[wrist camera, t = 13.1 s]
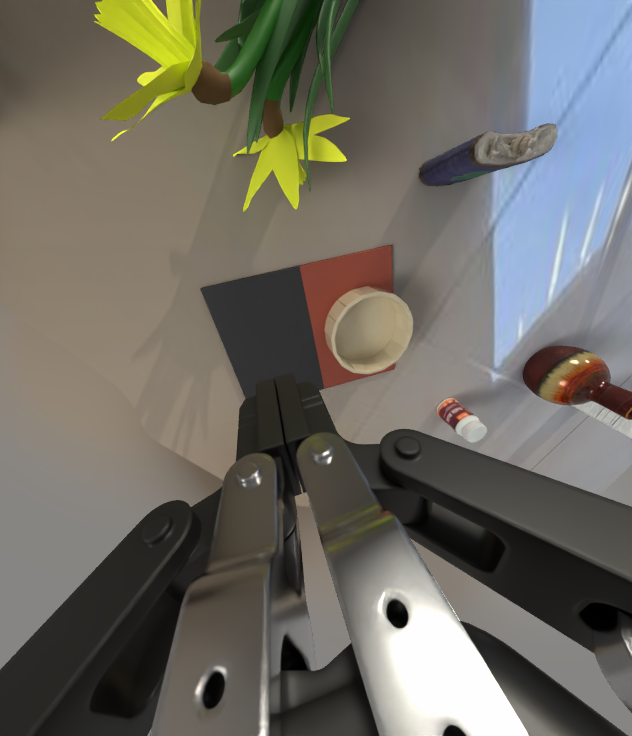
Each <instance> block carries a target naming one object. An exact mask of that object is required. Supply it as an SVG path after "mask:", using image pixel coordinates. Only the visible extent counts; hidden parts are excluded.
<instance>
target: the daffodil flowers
mask: <svg viewBox="0 0 632 736" xmlns="http://www.w3.org/2000/svg"><path fill="white" fill-rule="evenodd" d="M359 1H360V0H347V2H346V4H345V6H344V9H343V11H342V13H341V15H340V17H339V20H338V22H337V24H336V26H335V28H334V30H333V26H334V22H335V18H336V15H337V11H338V8H339V5H340V2H341V0H241V5H240V12H239V19H238V24H237V25H235V26H234V27H232V28H230V29H229V30H227V31H225V32H224V33H223V34H222V35H220V36H219V37H218V38H217V39H216V40H215V42H222V41H228V40H230V41H229V43H228V45H227V46H226V48H225V50H224V51H223V53H222V55H221V57H220V58H219V60H218V62H217V64H216V65H215V67H214V66H212V65H211V64H210V63H208V62H206V61H202V54H201V36H200V9H201V0H196V5H195V13H196V20H195V18H194V14H193V2H192V0H166V6H167V15H168V20H167V18H166V17H165V16H164V15H163V14H162V12H161V11H160V10H159V9H158V8H157V6H156V5H155V4H154V3H153V1H152V0H102V1H100V2H95V4H96V5H97V6H96V7H97V8H98V10H99V11H100V13H101V14H94V15H95V17H96V18H97V19H98V20H99V21H100V22H96V21H94V22H95V23H97V24H99V25H101V26H102V27H104V28H106V29H108V30H109V31H111V32H113V33H115V34H116V35H118V36H120V37H121V38H123V39H125V40H126V41H128V42H129V43H131V44H132V45H134V46H135V47H137V48H138V49H140V50H141V51H143V52H144V53H146V54H147V55H149V56H150V57H151V58H153V59H154V60H156V61H157V62H158V63H159V64H161V65H162V67H161V68H159V69H158V70H157V71H156V72H145V73H143V74H142V75H140V76H139V78H138V79H137V81H138V83H140V84H141V85H143V86H144V87H143V88H141V89H140V90H138V91H137V92H135V93H134V94H132V95H131V96H129V97H128V98H126V99H125V100H123V101H122V102H121V103H119V104H118V105H116V106H115V107H114V108H113V109H111V110H110V111H109V112H108V113H107V114H106V115H104V116H103V117H102V118H101V119H100V120H119V121H126V120H128V119H130V118H132V117H134V116H136V115H137V114H138V113H139V112H140V111H141V110H142V109H143V108H144V107H145V106H146V105H147V104H148V103H149V102H150V101H151V100H152V99H154V98H155V97H156V96H158V97H157V98H156V100H155V101H154V102H153V104H152V105H151V107H150V108H149V110H148V111H147V113H146V114H145V115H144V116H143V117H142V119H143V118H145V117H146V116H147V115H148V114H149V113H151V112H152V111H153V110H154V109H156V108H157V107H158V106H160V105H162V104H164V103H166V102H167V101H169V100H171V99H173V98H175V97H177V96H180V95H182V94H185V93H188V92H190V91H192V93H193V94H194V96H195V97H196V99H197V100H198V101H200V102H201V103H206V104H212V105H216V104H220V103H224V102H227V101H230V99H231V98H233V97H234V96H236V95H237V94H238V93H240V92H241V91H242V89H243V88H244V86H245V85H246V84H247V82H248V81H249V79H250V78H251V76H252V74H253V72H254V70H255V68H256V72H255V78H254V85H253V91H252V97H251V104H250V110H249V122H248V134H247V146H246V147H245V148H243V149H242V150H240V151H239V152H237V153H235V154H234V155H233V156H236V154H249V153H256V152H258V151H260V150H262V151H261V154H260V157H259V160H258V162H257V165H256V168H255V171H254V173H253V176H252V179H251V182H250V186H249V189H248V193H247V197H246V200H245V204H244V208H243V212H244V211H245V210H246V209H247V208H248V206H249V204H250V201H251V198H252V197H253V196H254V194H255V193H256V192H257V190H258V189H259V187H260V186H261V185H262V183H263V182H264V181H265V179H266V178H267V176H268V175H269V174H270V172H271V171H272V169H273V171H274V173H275V175H276V177H277V180H278V182H279V184H280V186H281V188H282V190H283V191H284V193H285V195H286V197H287V198H288V200H289V201H290V203H291V204H292V206H293V207H294V208H295V209H297V208H298V203H299V189H298V188H299V184H301V185H303V181H306V179H305V177H307V178H308V184H309V189H310V175H309V166H308V160H314V161H325V162H344V161H347V160H346V157H345V156H344V155H343V154H342V152H341V151H340V150H339V149H338V148H337V147H336V146H335V145H334V144H333V143H331V142H330V141H329V140H327V139H326V138H323V137H320V136H316V135H315V134H317V133H320V132H322V131H324V130H327V129H329V128H332V127H334V126H337V125H339V124H341V123H343V122H345V121H347V120H349V119H350V118H346V117H340V116H336V115H333V95H332V83H331V65H330V63H331V61H332V59H333V57H334V55H335V53H336V51H337V48H338V46H339V44H340V42H341V40H342V38H343V35H344V33H345V31H346V29H347V27H348V25H349V22H350V20H351V18H352V16H353V14H354V11H355V9H356V7H357V5H358V3H359ZM196 21H197V23H196ZM316 23H317V32H316V44H317V52H318V59H319V63H318V65H317V68H316V71H315V73H314V76H313V79H312V83H311V86H310V90H309V94H308V99H307V103H306V110H305V119H304V122H301V123H296V124H286V125H283V118H282V114H281V110H280V100H281V97H282V93H283V90H284V87H285V84H286V82H287V79H288V78H289V76H290V74H291V78H290V112H291V111H292V108H293V104H294V100H295V96H296V91H297V87H298V83H299V78H300V74H301V69H302V65H303V61H304V58H305V54H306V51H307V47H308V43H309V40H310V37H311V34H312V31H313V29H314V27H315V25H316ZM332 31H333V32H332ZM324 36H325V43H324V51H323V53H322V46H323V40H324ZM324 76H325V80H326V88H327V92H328V97H329V101H330V106H331V110H332V114H329V115H321V116H317V117H314V118H312V119H311V117H312V112H313V108H314V104H315V100H316V97H317V94H318V91H319V88H320V86H321V83H322V81H323V78H324ZM142 119H141V120H142ZM262 119H263V125H264V131H265V133H266V135H265V136H264V137H262V138H260V139H258V138H259V134H260V129H261V124H262ZM141 120H140V121H141ZM140 121H139V122H140ZM139 122H138V123H139ZM136 124H137V123H136ZM136 124H135V125H136ZM135 125H133V126H132V127H131V128H133V127H134V126H135ZM131 128H129V129H128V130H130V129H131ZM128 130H125V131H122V132H120V133H119V134H118V135H116V136H115V137H114V138H113V139H112V141H113V140H114V139H115V138H117V137H118V136H119V135H121V134H122V133H124V132H126V131H128ZM255 133H256V141H254V142H253V140H254V137H255ZM112 141H111V142H112ZM298 159H304V160H305V167H306V173H307V176H306V173H305V171H304V170H303V168H302V166H301V164H300V163H299V161H298Z"/></svg>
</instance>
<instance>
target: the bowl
mask: <svg viewBox="0 0 632 736" xmlns="http://www.w3.org/2000/svg"><path fill="white" fill-rule="evenodd" d="M324 331H325V337H326V343H327V345H328V347H329V348H330V350H331V351H332V353H333V354H334V356H335V357H336V359H337V360H338V362H339V363H340V365H341V366H342V367H344V368H346V369H348V370H349V371H351V372H353V373H359V374H371V373H375V372H379V371H382V370H384V369H386V368H387V367H389V366H390V365H392V364H393V363H395V362H396V361H397V360H398V359H399V358H400V357H401V355H402V354H403V353H404V352H405V350H406V349H407V347H408V345H409V342H410V340H411V337H412V334H413V317H412V314H411V312H410V310H409V307H408V305H407V304H406V303H405V302H404V301H403V300H401V299H400V298H399V297H398V296H397V295H395V294H393V293H390V292H388V291H385V290H383V289H379V288H374V287H369V286H368V287H367V286H366V287H362V288H357V289H353V290H351V291H349V292H347V293H346V294H344V295H343V296H342V297H340V298H339V299H338V300H337V301H336V302H335V304H334V305H333V306H332V308H331V310H330V311H329V313H328V316H327V319H326V323H325V330H324Z"/></svg>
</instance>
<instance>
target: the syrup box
mask: <svg viewBox="0 0 632 736" xmlns="http://www.w3.org/2000/svg"><path fill="white" fill-rule="evenodd" d="M571 406H573V407H575V408H577V409H579V410H580V411H582V412H584V413H586V414H588V415H589V416H591V417H593V418H595V419H597V420H599V421H600V422H602V423H604V424H606V425H608V426H610V427H611V428H613V429H615V430H617V431H619V432H620V433H622V434H624V435H626V436H628V437H630V438H631V439H632V420H627V419H625V418H623V417H621V416H620V415H618V414H616V413H614V412H613V411H611V410H609V409H607V408H605V407H603V406H601V405H599V404H597V403H595V402H592V401H591V402H588V403H585V404H580V405H571Z"/></svg>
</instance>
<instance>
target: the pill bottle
mask: <svg viewBox="0 0 632 736" xmlns="http://www.w3.org/2000/svg"><path fill="white" fill-rule="evenodd" d="M437 414H438V415H439V416H440V417H441V418H442V419H443V420H444V421H445V422H446V423H447V424H448V425H449V426H450V427H451V428H452V429H453V430H454V431H455V432H456V433H457V434H458V435H461V436H463V437H464V438H465V439H466V440H467V441H468V442H471V443H473V442H477V441H479V440H481V439H482V438H483V437H484V436H485V434H486V432H487V428H486V427H485V426H484V425H483V424H482V423H481V422H479V419H478V418H477V417H476V416H475V415H474V414H473V413H471V412H470V411H469V410H468V409H467V408H465V407H464V406H463V405H462V404H461V403H459V402H458V401H457V400H456V399H454V398H447V399H445V400H443V401H442V402H441V403H440V404H439V405H438V407H437Z"/></svg>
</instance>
